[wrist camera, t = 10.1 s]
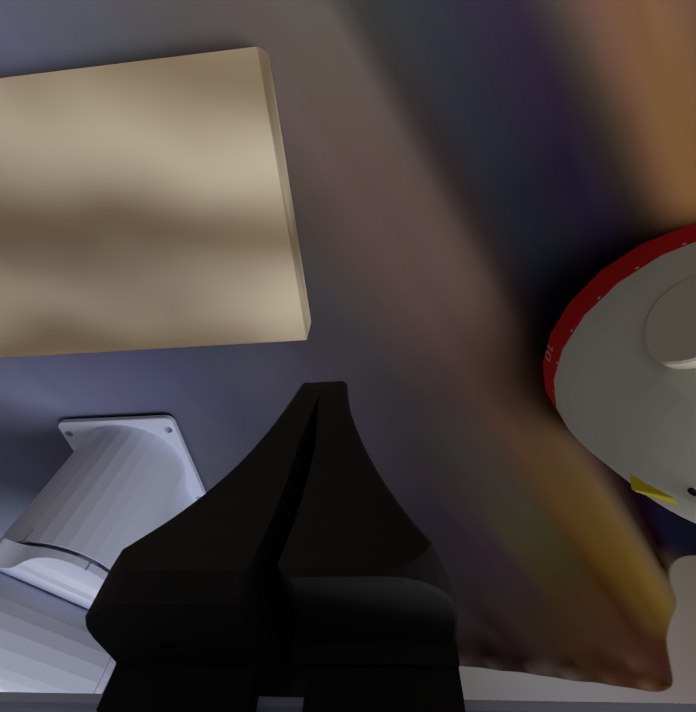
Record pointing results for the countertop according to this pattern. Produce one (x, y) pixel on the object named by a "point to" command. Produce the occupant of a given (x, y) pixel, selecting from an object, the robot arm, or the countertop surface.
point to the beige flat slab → (147, 208)
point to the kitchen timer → (634, 369)
